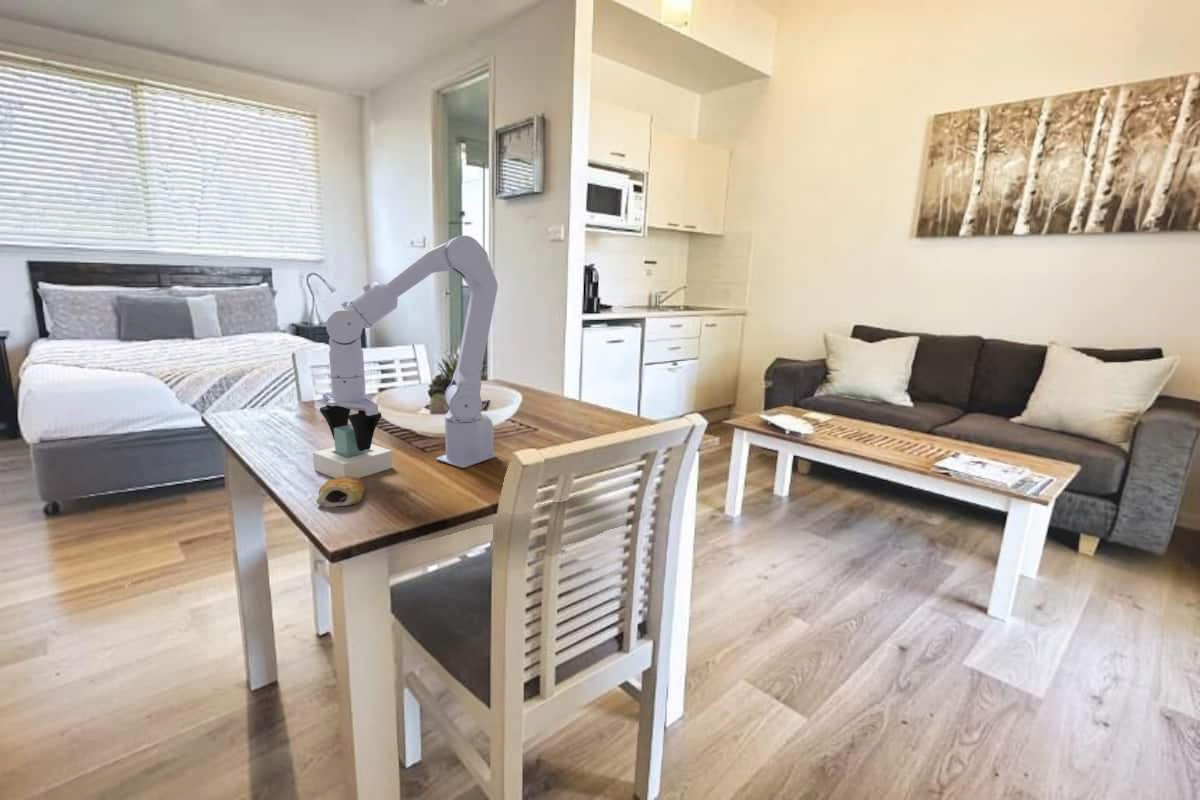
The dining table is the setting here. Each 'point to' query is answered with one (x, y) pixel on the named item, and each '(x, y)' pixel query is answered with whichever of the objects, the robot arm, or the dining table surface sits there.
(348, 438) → the post
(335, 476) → the well
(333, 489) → the pastry
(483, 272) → the robot arm
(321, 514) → the dining table surface
